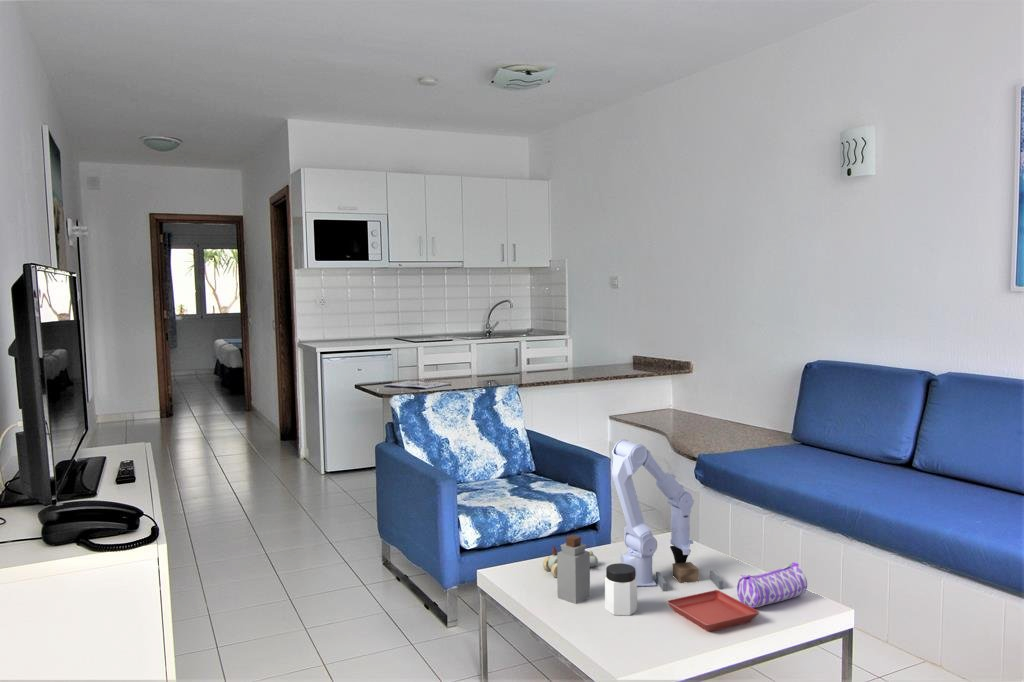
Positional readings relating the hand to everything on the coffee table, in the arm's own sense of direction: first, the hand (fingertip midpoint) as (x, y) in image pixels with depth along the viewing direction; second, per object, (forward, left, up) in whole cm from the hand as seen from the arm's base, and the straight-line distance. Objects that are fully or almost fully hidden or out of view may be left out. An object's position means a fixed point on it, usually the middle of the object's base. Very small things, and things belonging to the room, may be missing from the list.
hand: (680, 569), depth 244 cm
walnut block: (0, -5, -1) cm, 5 cm away
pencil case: (+21, -23, -2) cm, 31 cm away
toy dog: (-34, +6, -2) cm, 35 cm away
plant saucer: (0, -32, -2) cm, 32 cm away
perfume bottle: (-36, -16, -1) cm, 39 cm away
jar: (-24, -26, -1) cm, 35 cm away
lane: (0, -9, -1) cm, 9 cm away
